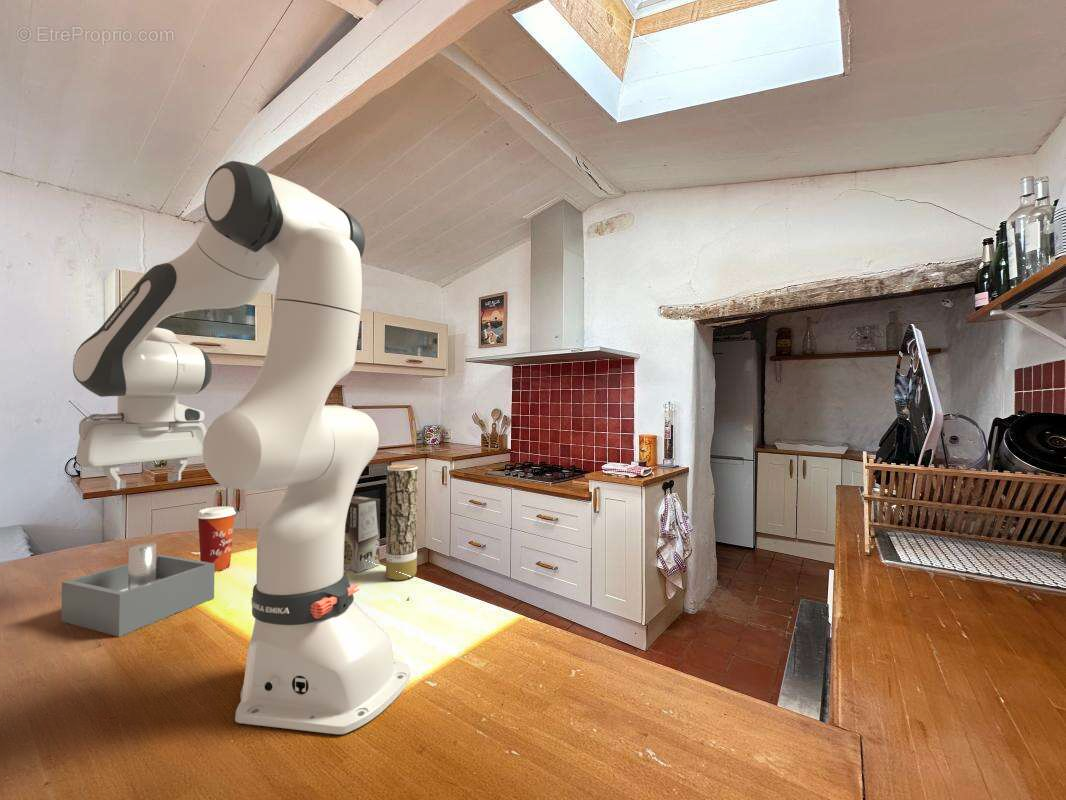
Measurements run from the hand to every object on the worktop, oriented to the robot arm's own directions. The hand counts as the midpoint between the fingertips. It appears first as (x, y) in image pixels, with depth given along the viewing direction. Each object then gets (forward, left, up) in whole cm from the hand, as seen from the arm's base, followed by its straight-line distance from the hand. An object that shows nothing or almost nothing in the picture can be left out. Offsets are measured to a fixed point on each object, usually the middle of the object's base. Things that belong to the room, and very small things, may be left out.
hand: (147, 485), depth 86 cm
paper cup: (+8, -20, -24) cm, 32 cm away
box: (0, 0, -23) cm, 23 cm away
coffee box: (-22, -33, -24) cm, 46 cm away
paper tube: (-36, -31, -24) cm, 53 cm away
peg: (0, 0, -23) cm, 23 cm away
